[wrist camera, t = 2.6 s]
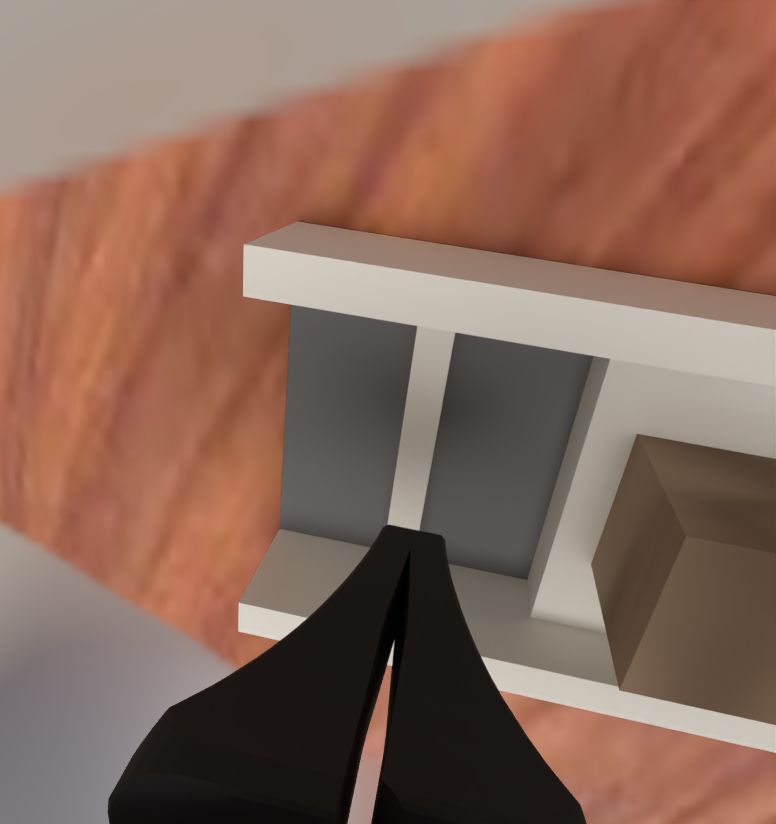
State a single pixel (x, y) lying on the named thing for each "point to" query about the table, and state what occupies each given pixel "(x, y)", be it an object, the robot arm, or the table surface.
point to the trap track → (495, 435)
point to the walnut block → (692, 577)
